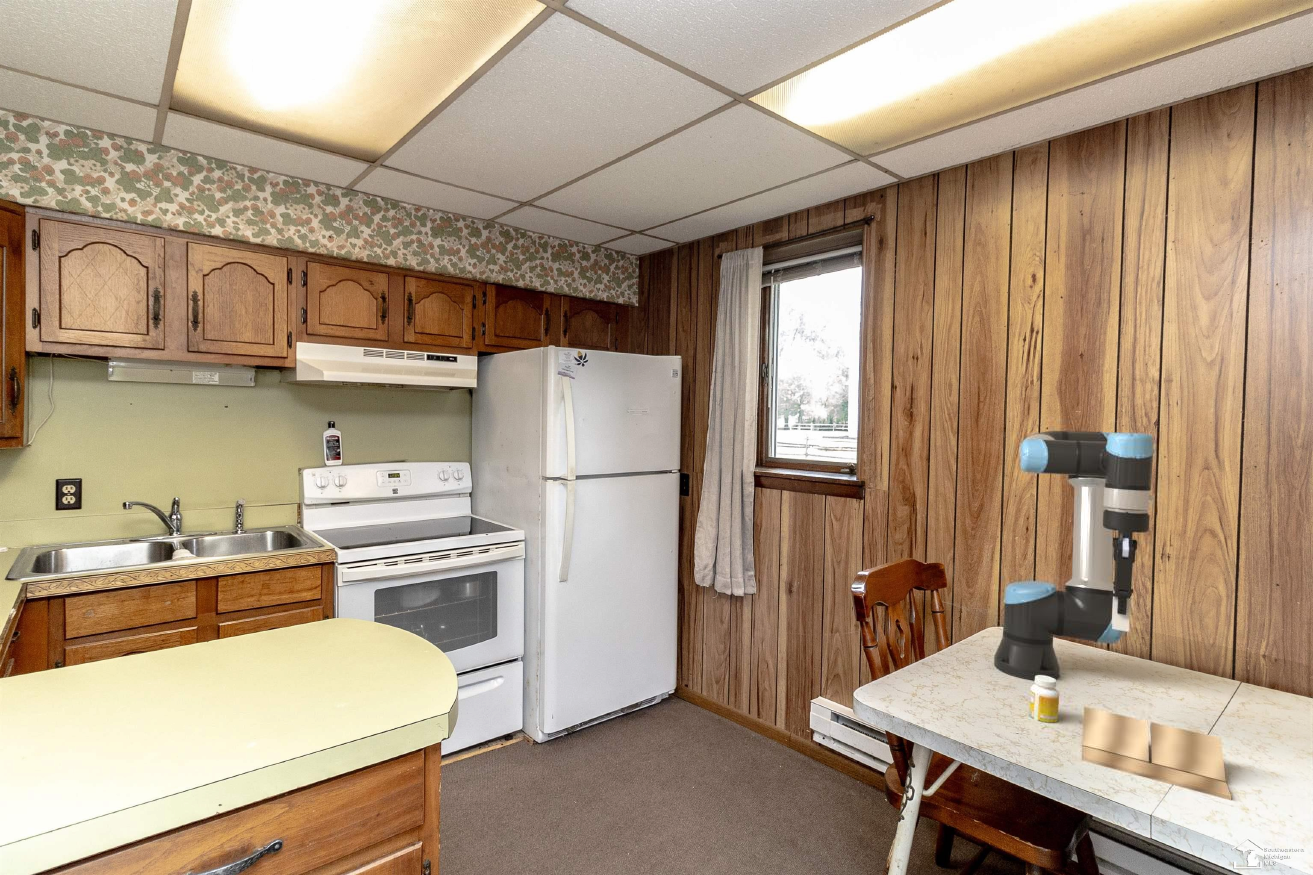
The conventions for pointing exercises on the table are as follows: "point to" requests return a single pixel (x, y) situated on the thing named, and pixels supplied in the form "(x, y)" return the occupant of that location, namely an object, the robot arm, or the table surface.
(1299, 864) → the table surface
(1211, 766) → the plank
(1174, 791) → the table surface
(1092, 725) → the plank
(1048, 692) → the supplement bottle
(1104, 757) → the laid floorboard
